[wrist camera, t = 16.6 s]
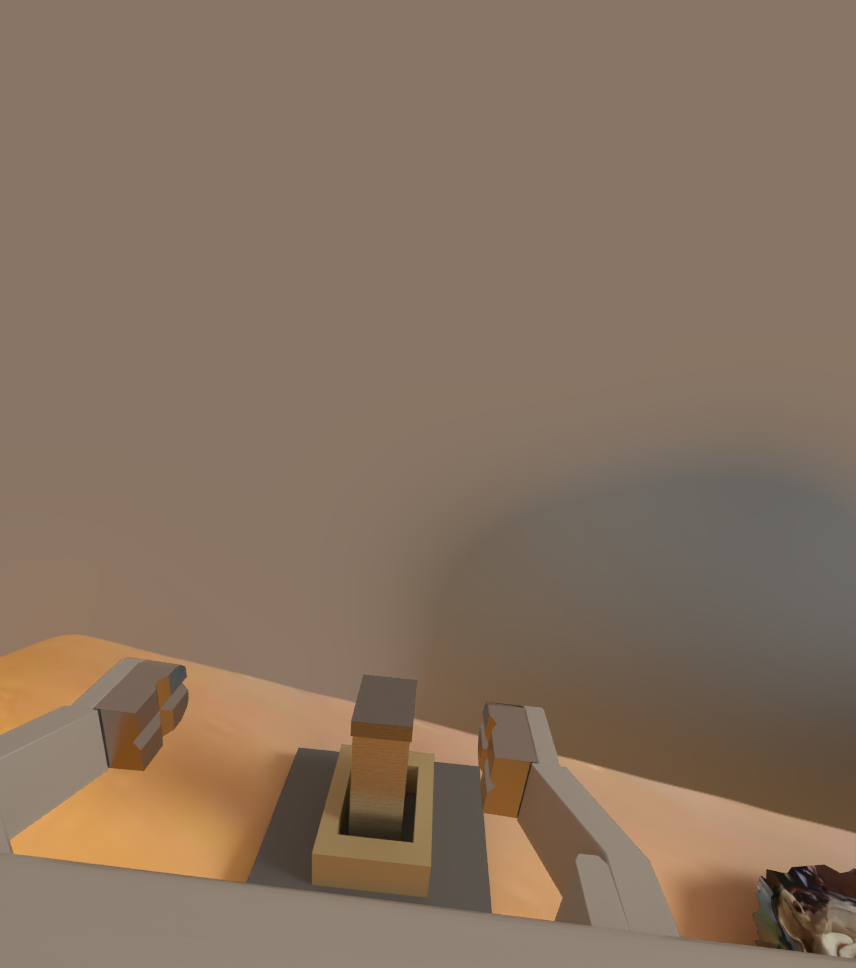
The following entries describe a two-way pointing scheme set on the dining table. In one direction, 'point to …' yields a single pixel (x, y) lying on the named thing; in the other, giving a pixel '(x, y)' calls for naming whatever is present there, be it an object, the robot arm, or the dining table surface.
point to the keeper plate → (377, 862)
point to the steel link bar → (380, 756)
